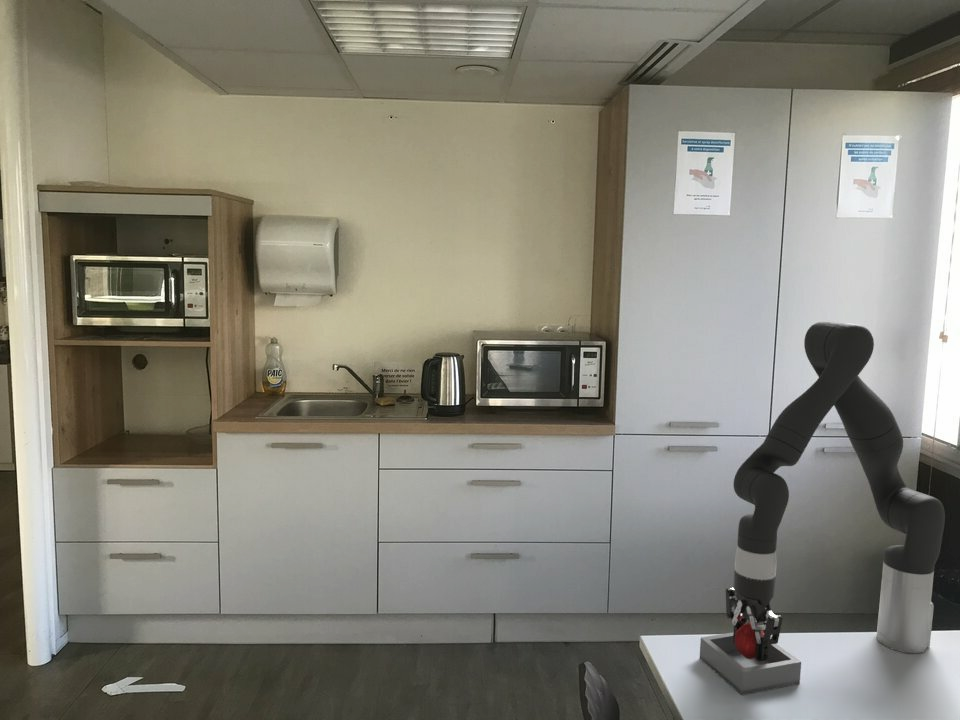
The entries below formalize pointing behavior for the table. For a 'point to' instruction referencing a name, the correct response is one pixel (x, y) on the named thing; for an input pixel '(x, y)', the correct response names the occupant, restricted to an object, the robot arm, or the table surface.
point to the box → (749, 665)
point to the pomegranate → (746, 641)
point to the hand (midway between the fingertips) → (749, 651)
